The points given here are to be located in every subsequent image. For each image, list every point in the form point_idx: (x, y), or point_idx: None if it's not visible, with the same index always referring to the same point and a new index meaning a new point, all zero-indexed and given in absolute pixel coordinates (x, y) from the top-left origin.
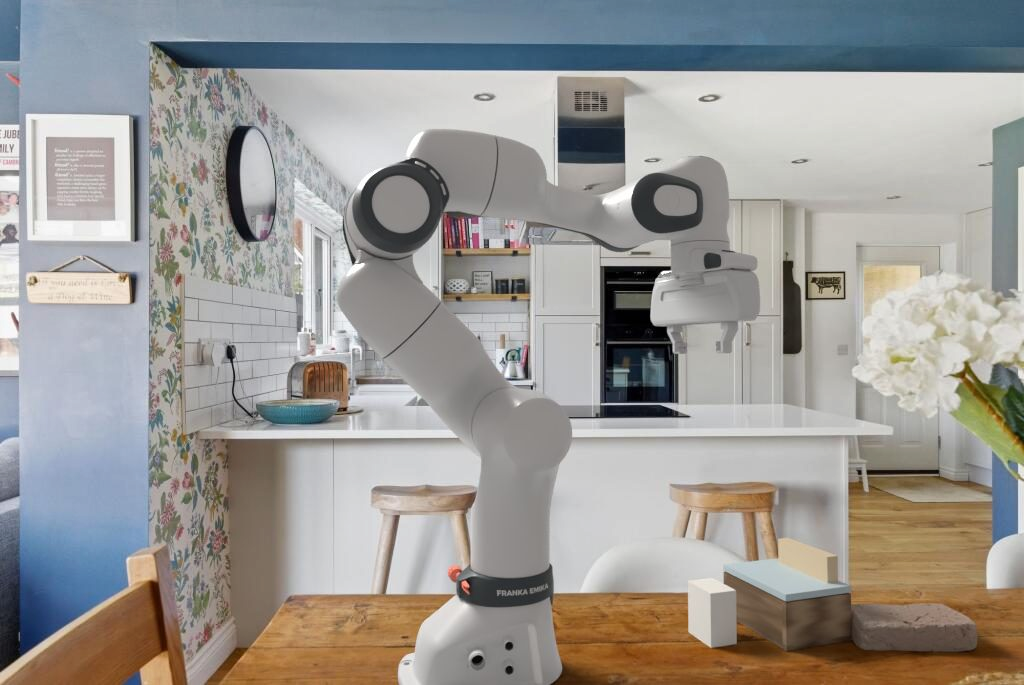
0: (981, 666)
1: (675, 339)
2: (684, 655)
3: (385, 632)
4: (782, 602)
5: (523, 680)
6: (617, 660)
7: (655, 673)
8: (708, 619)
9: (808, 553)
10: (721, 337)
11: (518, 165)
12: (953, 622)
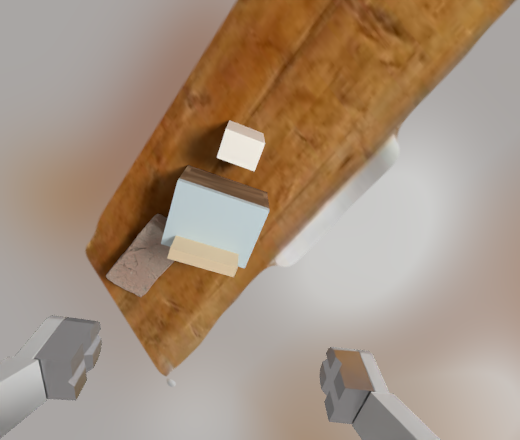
0: (99, 246)
1: (382, 415)
2: (233, 86)
3: None
4: (184, 178)
5: None
6: (266, 21)
7: (225, 30)
8: (231, 125)
9: (195, 253)
10: (8, 374)
11: None
12: (115, 269)
